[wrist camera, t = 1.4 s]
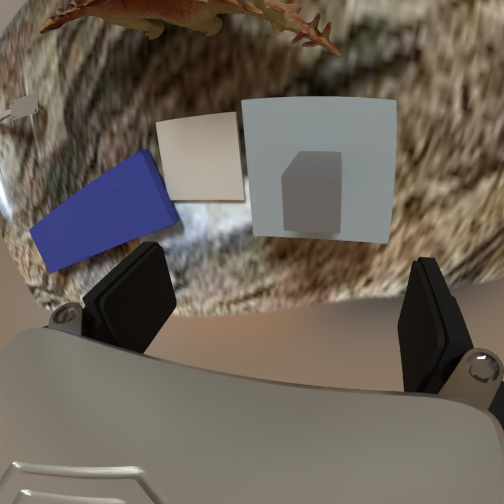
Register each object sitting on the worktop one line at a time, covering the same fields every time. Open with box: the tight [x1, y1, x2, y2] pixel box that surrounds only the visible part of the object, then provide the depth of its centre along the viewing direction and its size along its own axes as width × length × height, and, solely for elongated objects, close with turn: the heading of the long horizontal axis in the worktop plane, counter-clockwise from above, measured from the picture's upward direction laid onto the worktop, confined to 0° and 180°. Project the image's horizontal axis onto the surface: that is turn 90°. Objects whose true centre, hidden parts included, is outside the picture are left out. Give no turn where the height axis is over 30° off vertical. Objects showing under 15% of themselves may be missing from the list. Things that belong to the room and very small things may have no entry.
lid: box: [241, 97, 397, 243], centre depth 21 cm, size 12×12×9 cm
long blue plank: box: [29, 149, 179, 274], centre depth 42 cm, size 34×3×10 cm
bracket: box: [0, 94, 38, 122], centre depth 36 cm, size 3×21×10 cm, turn 90°
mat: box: [156, 112, 246, 200], centre depth 33 cm, size 10×10×1 cm
